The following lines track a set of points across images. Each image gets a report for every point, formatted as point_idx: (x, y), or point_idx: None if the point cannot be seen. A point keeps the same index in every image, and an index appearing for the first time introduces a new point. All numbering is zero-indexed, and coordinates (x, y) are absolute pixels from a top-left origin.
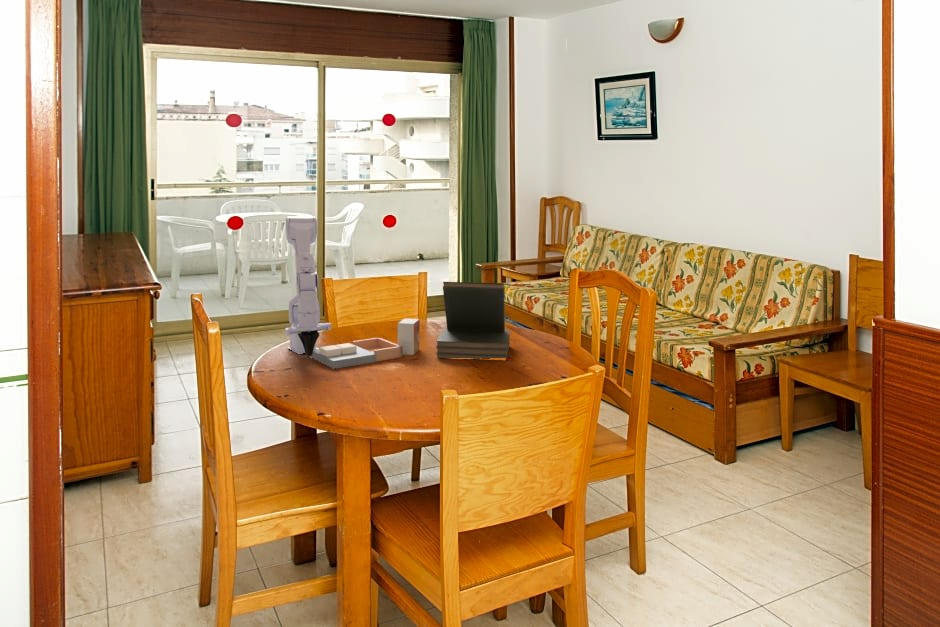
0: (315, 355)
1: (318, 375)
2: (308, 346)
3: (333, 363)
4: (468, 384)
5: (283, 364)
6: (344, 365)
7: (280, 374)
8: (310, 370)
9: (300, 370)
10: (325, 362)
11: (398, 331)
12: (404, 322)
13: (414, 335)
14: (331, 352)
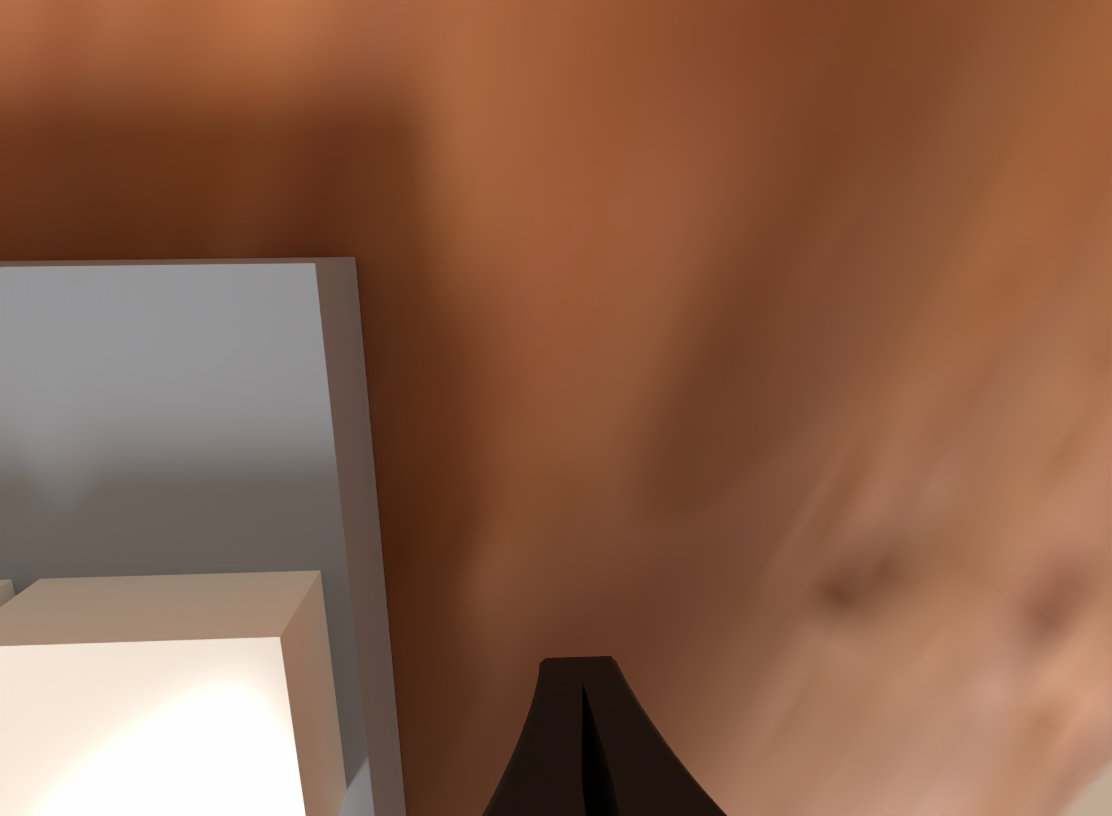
0: (388, 812)
1: (707, 44)
2: (657, 770)
3: (326, 261)
4: None
5: (806, 772)
6: (146, 259)
7: (1082, 403)
8: (672, 370)
9: (781, 441)
10: (368, 520)
11: None
12: None
13: None
14: (192, 610)
